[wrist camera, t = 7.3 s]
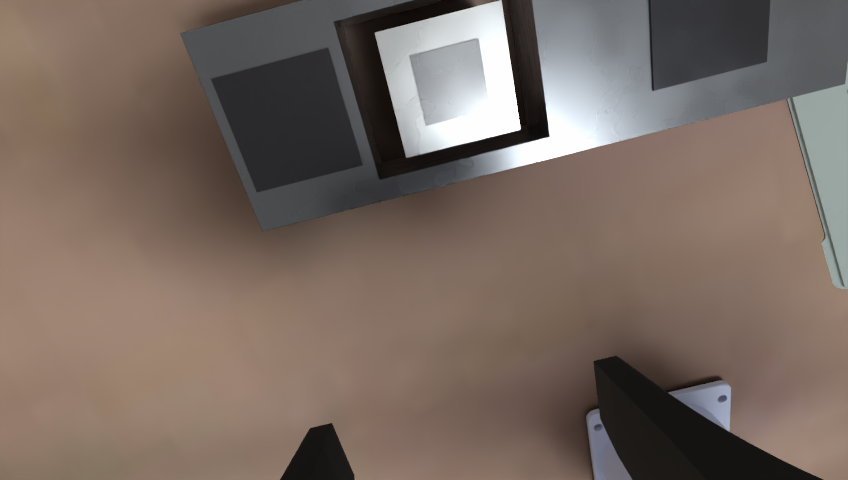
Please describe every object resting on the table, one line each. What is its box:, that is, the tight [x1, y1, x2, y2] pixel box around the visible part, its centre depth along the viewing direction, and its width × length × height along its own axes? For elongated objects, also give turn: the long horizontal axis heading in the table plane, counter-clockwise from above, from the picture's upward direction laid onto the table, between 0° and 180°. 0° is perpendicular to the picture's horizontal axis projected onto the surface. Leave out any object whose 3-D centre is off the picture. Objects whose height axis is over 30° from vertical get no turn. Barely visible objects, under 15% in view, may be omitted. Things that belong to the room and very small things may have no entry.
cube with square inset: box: [375, 0, 521, 158], centre depth 16 cm, size 4×4×4 cm
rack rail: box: [180, 0, 848, 231], centre depth 16 cm, size 7×22×3 cm, turn 103°
